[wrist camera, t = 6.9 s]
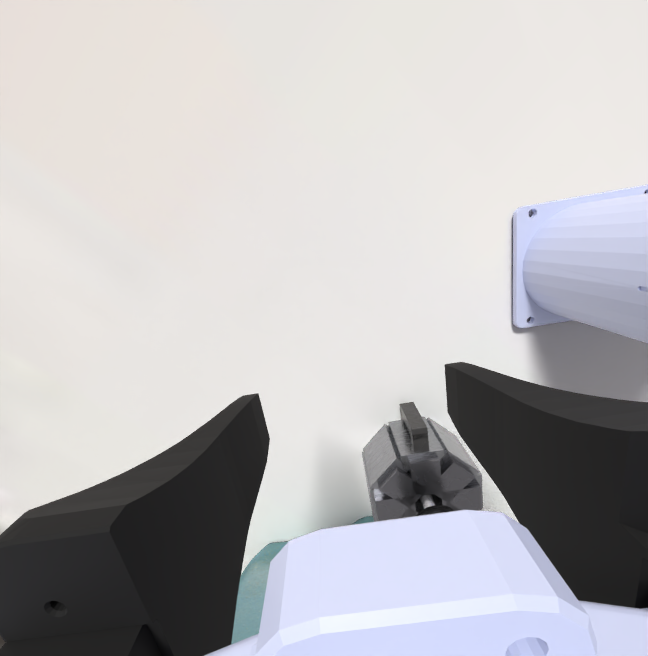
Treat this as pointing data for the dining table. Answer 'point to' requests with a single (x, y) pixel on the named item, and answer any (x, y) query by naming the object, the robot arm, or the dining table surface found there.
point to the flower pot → (253, 593)
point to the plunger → (432, 506)
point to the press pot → (418, 468)
